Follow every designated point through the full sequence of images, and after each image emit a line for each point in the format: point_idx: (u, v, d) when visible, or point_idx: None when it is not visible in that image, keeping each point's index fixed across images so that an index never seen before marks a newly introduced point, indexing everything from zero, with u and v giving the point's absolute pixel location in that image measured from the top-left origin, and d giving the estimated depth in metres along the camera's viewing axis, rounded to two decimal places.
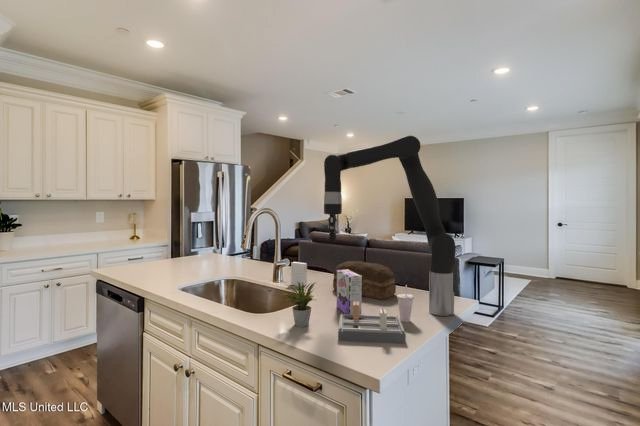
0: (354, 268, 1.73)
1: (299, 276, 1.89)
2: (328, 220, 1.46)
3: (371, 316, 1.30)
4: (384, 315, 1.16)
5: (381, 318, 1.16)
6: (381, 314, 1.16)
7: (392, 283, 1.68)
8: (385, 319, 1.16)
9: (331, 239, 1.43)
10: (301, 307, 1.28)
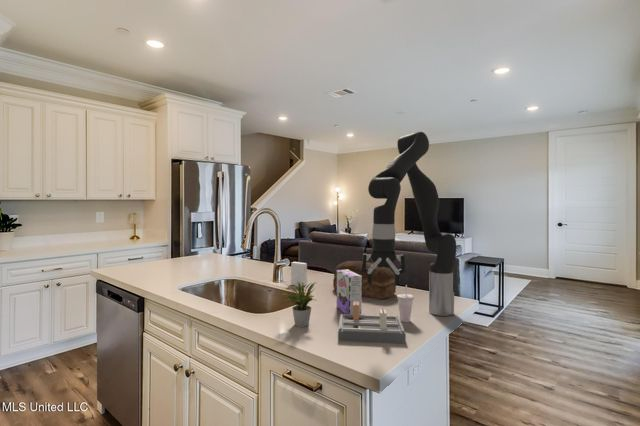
0: (354, 268, 1.74)
1: (299, 276, 1.89)
2: (390, 259, 1.16)
3: (371, 316, 1.30)
4: (384, 315, 1.16)
5: (381, 318, 1.16)
6: (381, 314, 1.16)
7: (392, 283, 1.69)
8: (385, 319, 1.16)
9: None
10: (301, 307, 1.28)
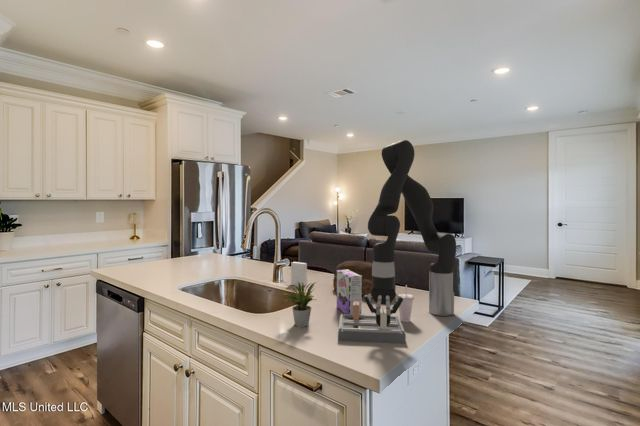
0: (354, 268, 1.74)
1: (299, 276, 1.89)
2: None
3: (371, 316, 1.30)
4: (384, 315, 1.16)
5: (381, 318, 1.16)
6: (381, 314, 1.16)
7: None
8: (385, 319, 1.16)
9: None
10: (301, 307, 1.28)
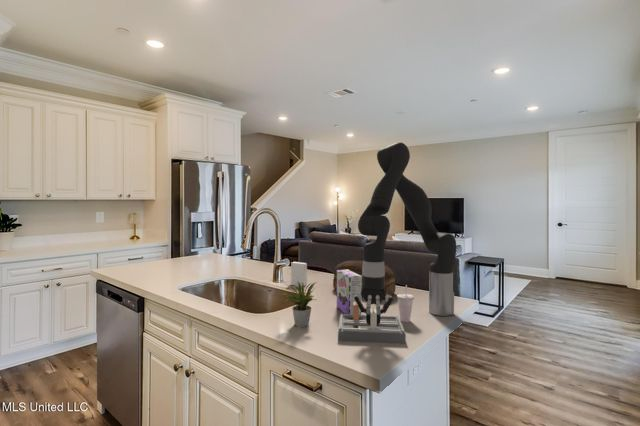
0: (354, 268, 1.75)
1: (299, 276, 1.89)
2: (379, 298, 1.17)
3: None
4: (374, 315, 1.17)
5: (371, 318, 1.17)
6: (371, 314, 1.17)
7: (392, 282, 1.70)
8: (375, 319, 1.17)
9: None
10: (301, 307, 1.28)
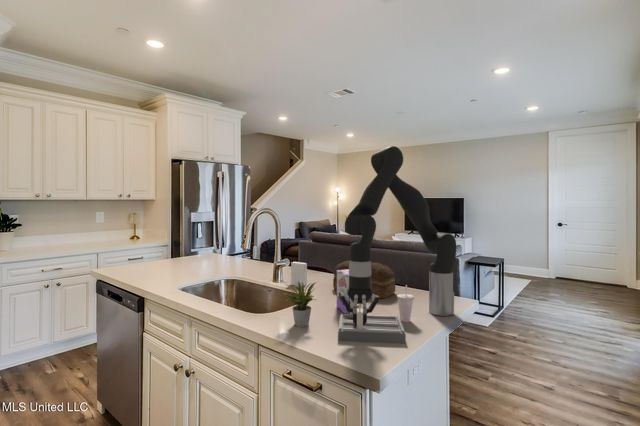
0: None
1: (299, 276, 1.89)
2: (365, 297, 1.17)
3: (371, 316, 1.30)
4: (360, 314, 1.17)
5: (357, 317, 1.17)
6: (357, 313, 1.17)
7: (392, 282, 1.71)
8: (361, 318, 1.17)
9: None
10: (301, 307, 1.28)
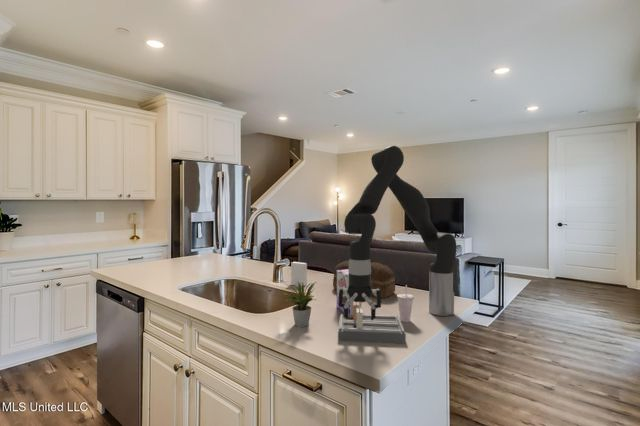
0: None
1: (299, 276, 1.89)
2: (365, 294, 1.17)
3: None
4: (360, 314, 1.17)
5: (357, 317, 1.17)
6: (357, 313, 1.17)
7: (392, 281, 1.72)
8: (361, 318, 1.17)
9: None
10: (301, 307, 1.28)
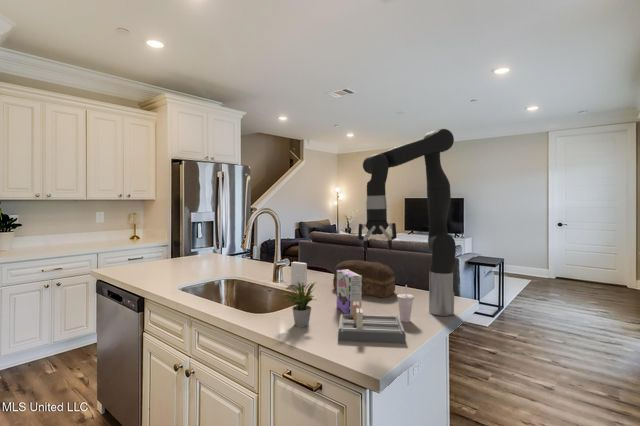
0: (355, 267, 1.76)
1: (299, 276, 1.89)
2: (382, 227, 1.31)
3: (371, 316, 1.30)
4: (360, 314, 1.17)
5: (357, 317, 1.17)
6: (357, 313, 1.17)
7: (392, 281, 1.72)
8: (361, 318, 1.17)
9: None
10: (301, 307, 1.28)
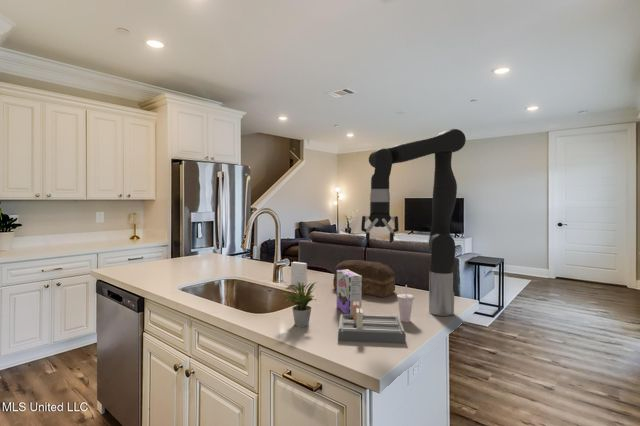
0: (355, 267, 1.77)
1: (299, 276, 1.89)
2: (385, 220, 1.34)
3: (371, 316, 1.30)
4: (360, 314, 1.17)
5: (357, 317, 1.17)
6: (357, 313, 1.17)
7: (392, 281, 1.73)
8: (361, 318, 1.17)
9: None
10: (301, 307, 1.28)
